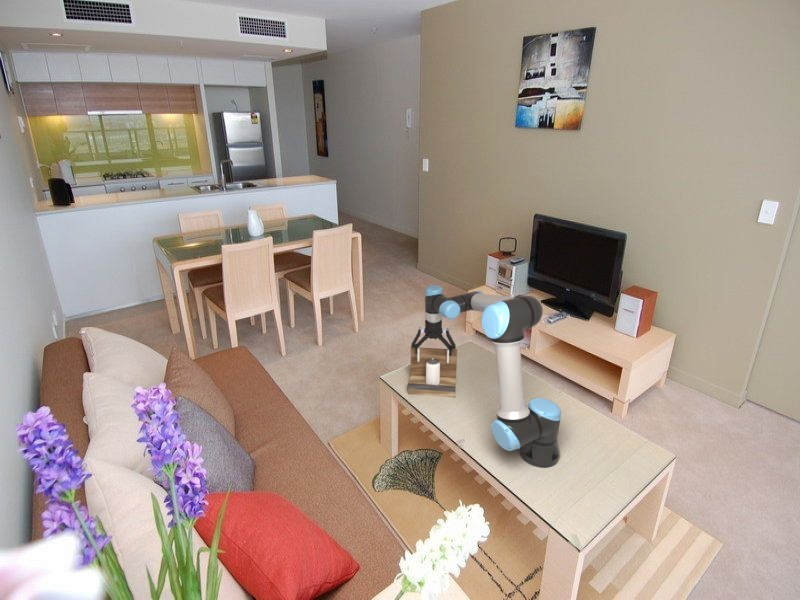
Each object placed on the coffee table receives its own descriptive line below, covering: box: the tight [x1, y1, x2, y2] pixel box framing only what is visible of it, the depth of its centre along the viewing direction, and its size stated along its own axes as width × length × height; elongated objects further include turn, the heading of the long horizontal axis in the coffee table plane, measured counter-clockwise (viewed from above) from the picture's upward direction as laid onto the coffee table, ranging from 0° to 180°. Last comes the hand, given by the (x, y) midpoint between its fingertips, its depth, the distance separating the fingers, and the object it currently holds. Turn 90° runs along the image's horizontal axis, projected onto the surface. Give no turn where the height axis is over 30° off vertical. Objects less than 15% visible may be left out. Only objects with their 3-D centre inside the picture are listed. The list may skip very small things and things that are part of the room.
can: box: [426, 358, 440, 385], centre depth 217 cm, size 6×6×12 cm
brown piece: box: [407, 346, 458, 398], centre depth 218 cm, size 13×22×18 cm, turn 83°
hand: (433, 360), depth 215 cm, fingers open, 13 cm apart
